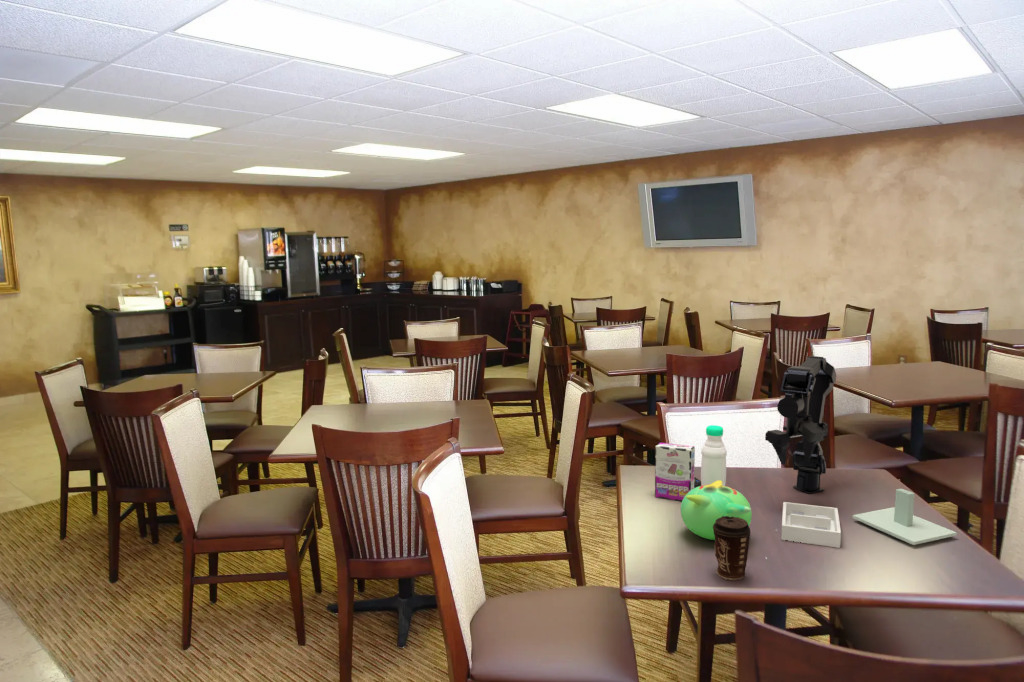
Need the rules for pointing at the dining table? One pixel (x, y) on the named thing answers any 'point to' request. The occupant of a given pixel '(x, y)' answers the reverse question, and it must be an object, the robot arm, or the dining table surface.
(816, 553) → the dining table surface
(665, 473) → the candy bar box
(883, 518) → the lid
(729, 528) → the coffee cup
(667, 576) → the dining table surface
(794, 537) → the tub
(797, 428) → the robot arm
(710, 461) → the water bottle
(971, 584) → the dining table surface
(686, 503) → the toy bird
